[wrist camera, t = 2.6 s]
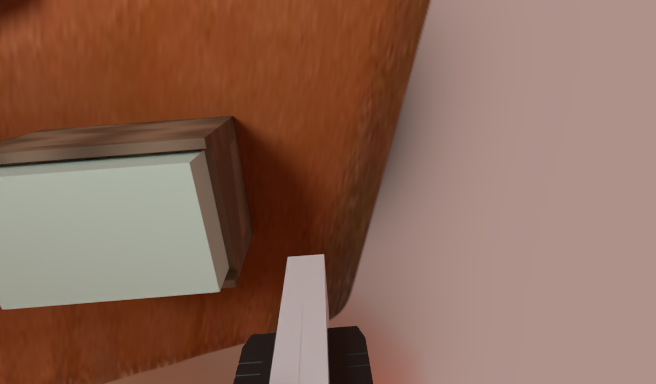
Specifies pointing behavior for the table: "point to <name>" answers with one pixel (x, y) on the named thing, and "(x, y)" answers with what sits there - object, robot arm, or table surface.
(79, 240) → the lid
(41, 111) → the table surface
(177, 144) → the box
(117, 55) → the table surface
